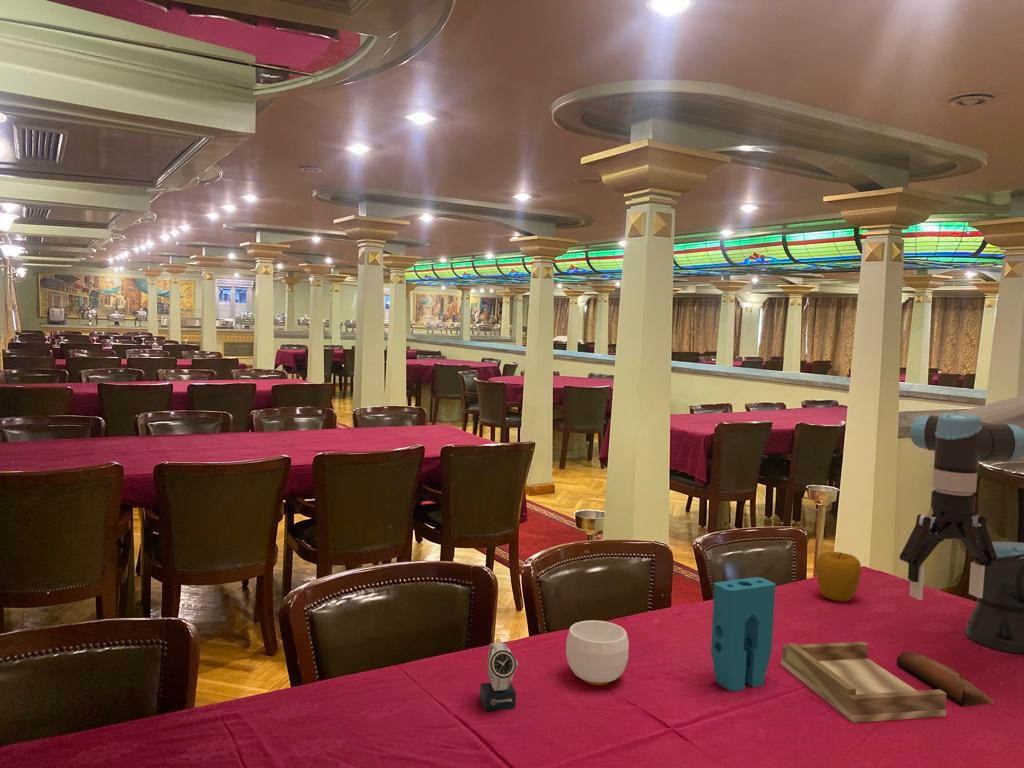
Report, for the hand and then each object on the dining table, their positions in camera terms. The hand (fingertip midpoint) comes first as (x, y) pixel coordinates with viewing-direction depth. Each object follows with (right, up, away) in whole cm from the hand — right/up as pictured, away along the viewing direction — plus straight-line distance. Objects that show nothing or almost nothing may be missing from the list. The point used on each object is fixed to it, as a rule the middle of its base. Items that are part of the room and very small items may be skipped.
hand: (945, 596), depth 150 cm
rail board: (-19, -17, -2) cm, 26 cm away
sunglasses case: (0, -19, +1) cm, 19 cm away
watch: (-89, -16, -13) cm, 92 cm away
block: (-42, -17, -1) cm, 45 cm away
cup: (-70, -16, -2) cm, 72 cm away
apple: (0, -15, +50) cm, 52 cm away
